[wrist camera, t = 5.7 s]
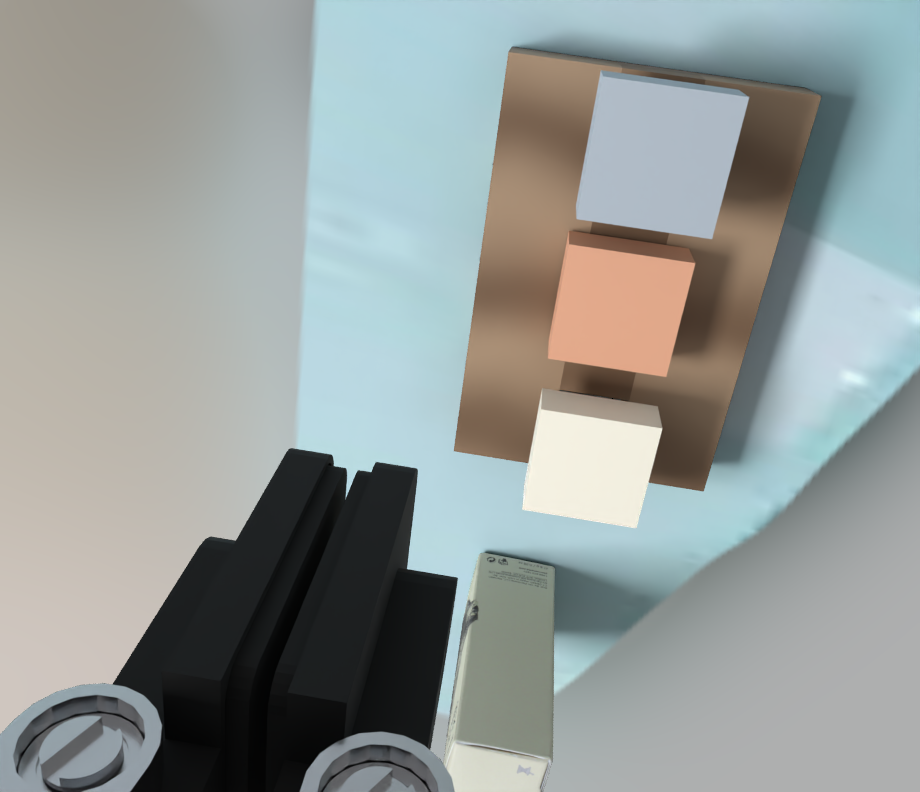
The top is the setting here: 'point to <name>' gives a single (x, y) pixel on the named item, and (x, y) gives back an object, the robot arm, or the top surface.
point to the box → (504, 680)
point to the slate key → (659, 154)
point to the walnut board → (554, 214)
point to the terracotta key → (619, 303)
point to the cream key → (591, 457)
